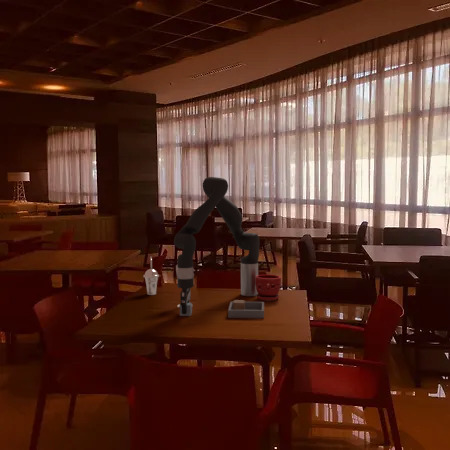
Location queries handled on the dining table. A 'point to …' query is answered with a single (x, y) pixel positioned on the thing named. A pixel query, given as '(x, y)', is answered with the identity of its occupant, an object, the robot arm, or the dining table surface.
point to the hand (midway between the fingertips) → (185, 311)
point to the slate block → (189, 310)
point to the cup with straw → (151, 280)
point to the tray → (247, 310)
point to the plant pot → (268, 287)
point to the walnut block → (239, 305)
